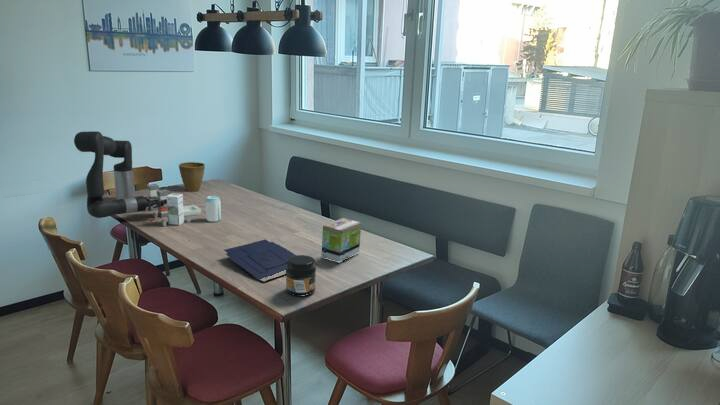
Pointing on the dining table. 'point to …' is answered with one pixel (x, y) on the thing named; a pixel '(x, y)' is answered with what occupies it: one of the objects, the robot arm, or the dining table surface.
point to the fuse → (152, 193)
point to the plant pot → (192, 175)
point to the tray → (191, 210)
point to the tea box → (341, 239)
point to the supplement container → (300, 275)
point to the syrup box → (175, 209)
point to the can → (213, 209)
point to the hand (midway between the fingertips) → (168, 199)
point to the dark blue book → (260, 258)
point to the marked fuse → (163, 209)
